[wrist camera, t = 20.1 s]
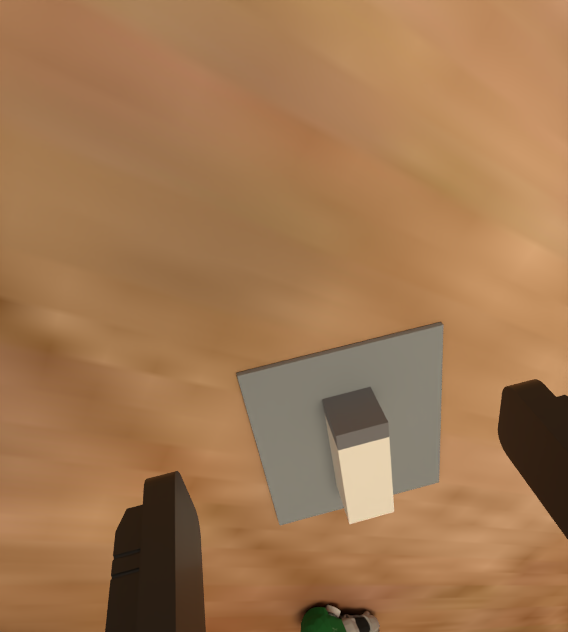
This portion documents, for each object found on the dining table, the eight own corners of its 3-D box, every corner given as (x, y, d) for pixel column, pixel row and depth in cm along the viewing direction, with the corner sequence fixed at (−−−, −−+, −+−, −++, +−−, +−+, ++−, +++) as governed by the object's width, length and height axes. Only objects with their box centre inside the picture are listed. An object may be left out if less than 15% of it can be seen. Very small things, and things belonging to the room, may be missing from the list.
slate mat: (279, 521, 60) (279, 525, 59) (236, 372, 46) (237, 376, 46) (437, 478, 61) (439, 482, 61) (441, 321, 48) (443, 324, 47)
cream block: (378, 474, 58) (370, 386, 50) (394, 511, 54) (388, 422, 46) (336, 485, 57) (322, 399, 49) (349, 524, 53) (335, 436, 45)
